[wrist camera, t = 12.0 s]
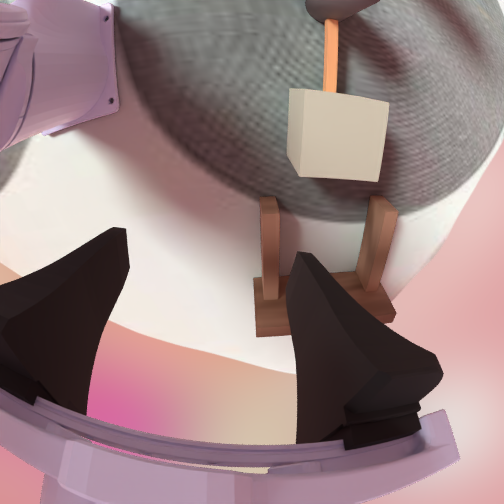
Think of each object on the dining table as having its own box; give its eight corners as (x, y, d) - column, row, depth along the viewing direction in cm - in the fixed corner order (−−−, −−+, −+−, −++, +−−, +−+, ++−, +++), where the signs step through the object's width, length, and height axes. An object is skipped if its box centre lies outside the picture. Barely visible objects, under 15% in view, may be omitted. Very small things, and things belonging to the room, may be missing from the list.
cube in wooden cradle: (249, 197, 21) (251, 238, 16) (390, 195, 21) (426, 231, 16) (253, 287, 26) (256, 337, 21) (370, 279, 26) (392, 322, 21)
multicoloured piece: (290, -14, 11) (309, -48, 6) (358, -2, 11) (397, -23, 6) (286, 154, 19) (302, 182, 14) (350, 159, 19) (384, 188, 14)
